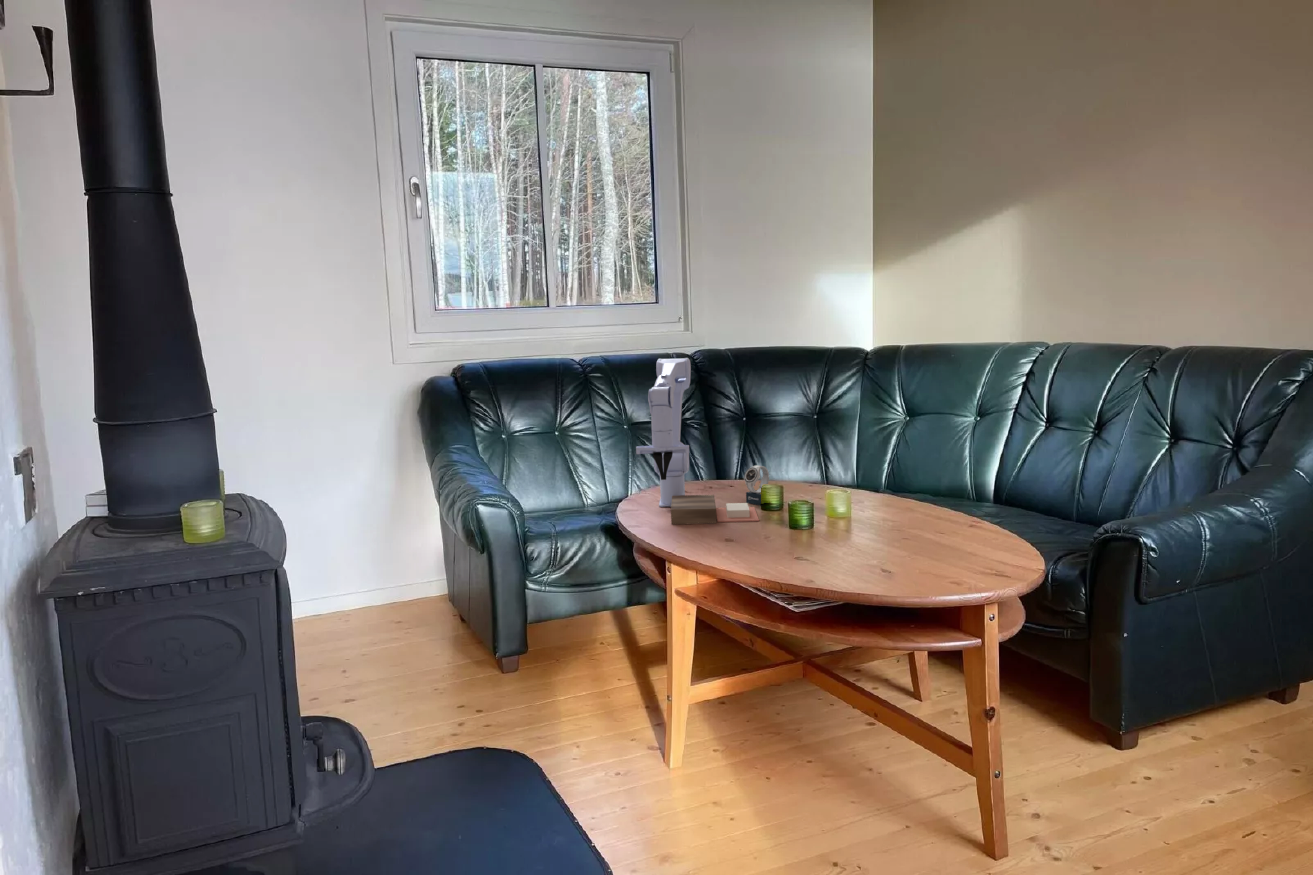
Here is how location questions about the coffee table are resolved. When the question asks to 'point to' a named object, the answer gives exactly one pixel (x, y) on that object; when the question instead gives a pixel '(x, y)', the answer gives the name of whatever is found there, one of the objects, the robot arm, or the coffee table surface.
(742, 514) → the tile
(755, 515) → the mat
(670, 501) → the robot arm
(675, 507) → the brown wooden block
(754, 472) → the watch
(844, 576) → the coffee table surface
